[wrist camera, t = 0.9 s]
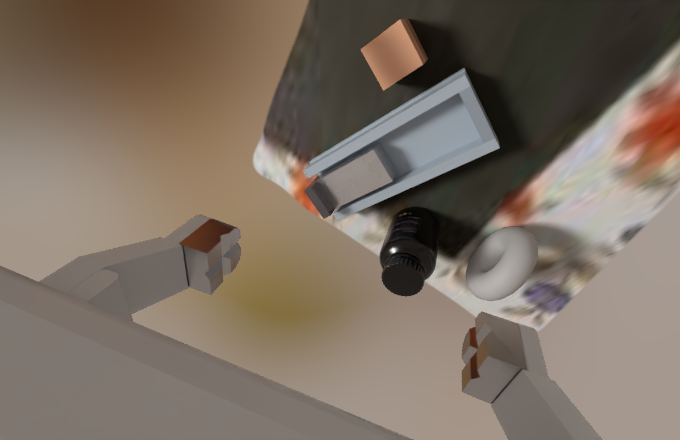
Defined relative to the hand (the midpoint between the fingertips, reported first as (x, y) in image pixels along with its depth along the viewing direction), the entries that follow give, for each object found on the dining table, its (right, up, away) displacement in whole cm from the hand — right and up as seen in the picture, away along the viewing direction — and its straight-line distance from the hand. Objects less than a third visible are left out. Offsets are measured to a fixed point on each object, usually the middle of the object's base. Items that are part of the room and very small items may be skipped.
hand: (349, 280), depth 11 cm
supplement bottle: (+10, +1, +36) cm, 37 cm away
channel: (+7, +11, +31) cm, 33 cm away
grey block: (+2, +8, +33) cm, 34 cm away
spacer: (+6, +20, +25) cm, 33 cm away
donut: (+21, -1, +33) cm, 39 cm away
